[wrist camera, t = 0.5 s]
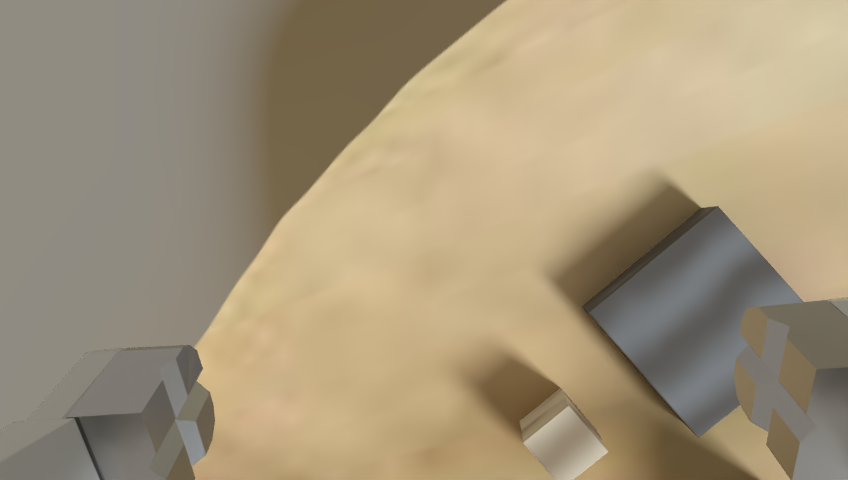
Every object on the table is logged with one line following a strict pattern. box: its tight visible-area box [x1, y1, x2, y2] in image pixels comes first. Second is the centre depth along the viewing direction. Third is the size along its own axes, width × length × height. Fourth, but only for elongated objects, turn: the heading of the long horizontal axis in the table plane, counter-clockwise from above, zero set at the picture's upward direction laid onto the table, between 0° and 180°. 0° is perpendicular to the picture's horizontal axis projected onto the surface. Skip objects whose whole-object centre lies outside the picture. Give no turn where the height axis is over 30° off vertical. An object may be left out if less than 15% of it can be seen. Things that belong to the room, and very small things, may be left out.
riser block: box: [583, 206, 803, 438], centre depth 54 cm, size 14×14×4 cm
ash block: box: [520, 388, 608, 480], centre depth 55 cm, size 5×5×6 cm
